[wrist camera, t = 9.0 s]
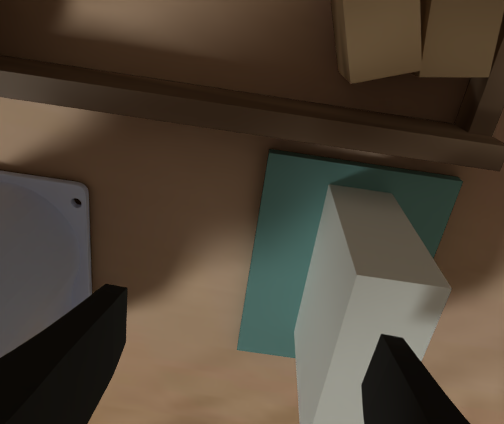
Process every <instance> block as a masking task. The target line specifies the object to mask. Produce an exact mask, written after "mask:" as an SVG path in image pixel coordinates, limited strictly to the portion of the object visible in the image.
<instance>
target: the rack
mask: <svg viewBox="0 0 504 424" xmlns="http://www.w3.org/2000/svg"><path fill="white" fill-rule="evenodd" d="M0 97H4V98H11V99H18V100H24V101H31V102H38V103H45V104H51V105H58V106H65V107H71V108H78V109H85V110H91V111H98V112H105V113H112V114H118V115H125V116H132V117H138V118H145V119H152V120H159V121H165V122H172V123H179V124H185V125H192V126H199V127H206V128H212V129H219V130H226V131H232V132H239V133H246V134H252V135H259V136H266V137H273V138H279V139H286V140H293V141H299V142H306V143H313V144H320V145H326V146H333V147H340V148H346V149H353V150H360V151H367V152H373V153H380V154H387V155H393V156H400V157H407V158H413V159H420V160H427V161H434V162H440V163H447V164H454V165H460V166H467V167H474V168H481V169H487V170H494V171H500V170H501V168H502V165H503V163H504V143H502V142H501V141H499V140H497V139H496V138H494V137H492V135H493V133H494V130H495V128H496V125H497V123H498V120H499V118H500V115H501V113H502V110H503V108H504V13H503V18H502V22H501V26H500V31H499V35H498V39H497V44H496V48H495V53H494V57H493V61H492V66H491V70H490V75H489V77H471V79H470V82H469V85H468V88H467V90H466V93H465V96H464V99H463V102H462V105H461V107H460V110H459V113H458V116H457V119H456V122H455V124H452V123H445V122H438V121H432V120H425V119H418V118H412V117H405V116H398V115H392V114H385V113H379V112H372V111H365V110H359V109H352V108H345V107H339V106H332V105H325V104H319V103H312V102H306V101H299V100H292V99H286V98H279V97H272V96H266V95H259V94H253V93H246V92H239V91H233V90H226V89H219V88H213V87H206V86H199V85H193V84H186V83H180V82H173V81H166V80H160V79H153V78H146V77H140V76H133V75H126V74H120V73H113V72H107V71H100V70H93V69H87V68H80V67H73V66H67V65H60V64H54V63H47V62H40V61H34V60H27V59H20V58H14V57H7V56H0Z"/></svg>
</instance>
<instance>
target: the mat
mask: <svg viewBox="0 0 504 424" xmlns="http://www.w3.org/2000/svg"><path fill="white" fill-rule="evenodd" d="M462 183H463V181H462V180H461V179H460V178H459V177H455V176H448V175H441V174H435V173H428V172H421V171H415V170H408V169H401V168H394V167H388V166H381V165H374V164H367V163H361V162H354V161H347V160H341V159H334V158H327V157H320V156H314V155H307V154H300V153H293V152H287V151H280V150H273V149H269V154H268V161H267V167H266V173H265V179H264V185H263V191H262V197H261V204H260V210H259V216H258V222H257V228H256V234H255V241H254V247H253V253H252V259H251V265H250V271H249V277H248V284H247V290H246V296H245V302H244V308H243V314H242V320H241V327H240V333H239V339H238V346H237V350H241V351H248V352H255V353H262V354H269V355H276V356H283V357H291V358H296V355H295V339H294V330H295V326H296V321H297V317H298V313H299V309H300V304H301V300H302V296H303V292H304V287H305V283H306V279H307V275H308V270H309V266H310V262H311V258H312V253H313V249H314V245H315V241H316V236H317V232H318V228H319V224H320V219H321V215H322V211H323V207H324V202H325V198H326V194H327V190H328V185H329V184H331V185H338V186H345V187H352V188H359V189H365V190H372V191H379V192H386V193H392V194H393V196H394V198H395V199H396V201H397V202H398V204H399V205H400V207H401V209H402V210H403V212H404V213H405V215H406V217H407V218H408V220H409V221H410V223H411V224H412V226H413V228H414V229H415V231H416V232H417V234H418V236H419V237H420V239H421V240H422V242H423V243H424V245H425V247H426V248H427V250H428V251H429V253H430V255H431V256H432V258H433V259H434V256H435V253H436V251H437V248H438V245H439V243H440V240H441V238H442V235H443V232H444V230H445V227H446V225H447V222H448V219H449V217H450V214H451V212H452V209H453V206H454V204H455V201H456V199H457V196H458V193H459V191H460V188H461V186H462Z"/></svg>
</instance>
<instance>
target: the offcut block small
mask: <svg viewBox="0 0 504 424" xmlns="http://www.w3.org/2000/svg"><path fill="white" fill-rule="evenodd" d="M503 13H504V0H420V15H421V54H422V70H421V71H416V72H411V74H414V75H416V76H418V77H489V75H490V70H491V66H492V61H493V57H494V53H495V48H496V44H497V39H498V35H499V31H500V26H501V22H502V18H503Z"/></svg>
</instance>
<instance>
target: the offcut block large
mask: <svg viewBox="0 0 504 424" xmlns="http://www.w3.org/2000/svg"><path fill="white" fill-rule="evenodd" d="M331 9H332V18H333V28H334V37H335V46H336V56H337V65H338V72H339V73H340V74H341V75H342V76H343V77H344V78H345V79H346V80H347V81H348V82H349V83H350V84H353V83H358V82H364V81H369V80H374V79H379V78H385V77H390V76H395V75H400V74H405V73H411V72H416V71H421V70H422V54H421V15H420V0H331Z"/></svg>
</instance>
